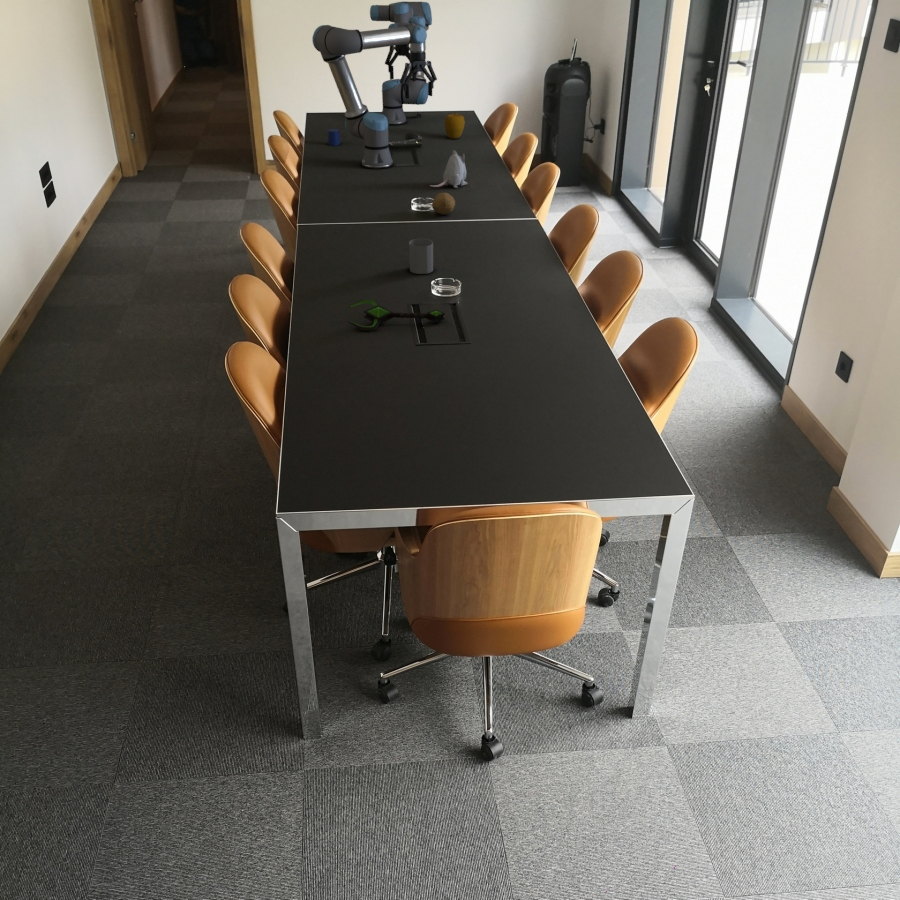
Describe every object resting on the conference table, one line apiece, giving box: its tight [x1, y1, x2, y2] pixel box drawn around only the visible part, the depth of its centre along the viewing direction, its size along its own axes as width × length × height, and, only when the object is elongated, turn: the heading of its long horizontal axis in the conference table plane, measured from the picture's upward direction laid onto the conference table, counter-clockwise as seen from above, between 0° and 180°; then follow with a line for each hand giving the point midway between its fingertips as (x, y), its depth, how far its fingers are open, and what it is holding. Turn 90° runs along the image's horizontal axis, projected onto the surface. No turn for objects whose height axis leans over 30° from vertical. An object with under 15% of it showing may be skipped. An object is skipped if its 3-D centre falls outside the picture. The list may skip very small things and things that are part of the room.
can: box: [327, 128, 341, 147], centre depth 462 cm, size 6×6×7 cm
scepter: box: [348, 298, 446, 331], centre depth 269 cm, size 6×13×30 cm
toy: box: [428, 149, 468, 189], centre depth 390 cm, size 9×24×15 cm, turn 137°
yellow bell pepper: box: [444, 113, 466, 140], centre depth 472 cm, size 11×11×13 cm
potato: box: [431, 192, 456, 216], centre depth 360 cm, size 10×14×8 cm
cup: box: [408, 237, 434, 275], centre depth 305 cm, size 8×8×10 cm
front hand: (418, 97), depth 440 cm, fingers open, 13 cm apart
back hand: (403, 80), depth 462 cm, fingers open, 13 cm apart
